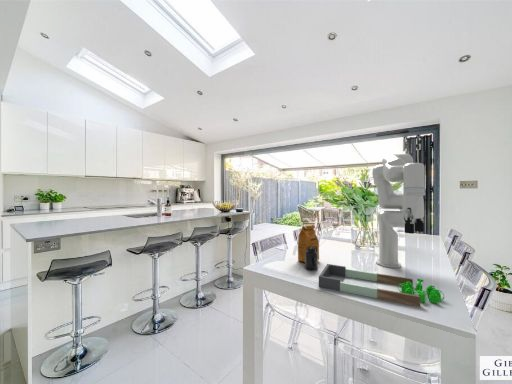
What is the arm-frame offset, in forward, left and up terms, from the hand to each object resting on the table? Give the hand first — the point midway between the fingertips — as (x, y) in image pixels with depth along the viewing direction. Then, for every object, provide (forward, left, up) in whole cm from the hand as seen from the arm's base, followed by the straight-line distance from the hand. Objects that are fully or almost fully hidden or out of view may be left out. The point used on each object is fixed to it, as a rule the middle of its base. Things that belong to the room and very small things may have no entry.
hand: (414, 232), depth 95 cm
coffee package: (-21, -51, -26) cm, 61 cm away
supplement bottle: (-8, -46, -26) cm, 53 cm away
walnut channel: (+4, -7, -25) cm, 27 cm away
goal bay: (+4, -21, -25) cm, 33 cm away
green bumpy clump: (+4, +1, -26) cm, 26 cm away
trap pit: (+4, -33, -25) cm, 41 cm away
